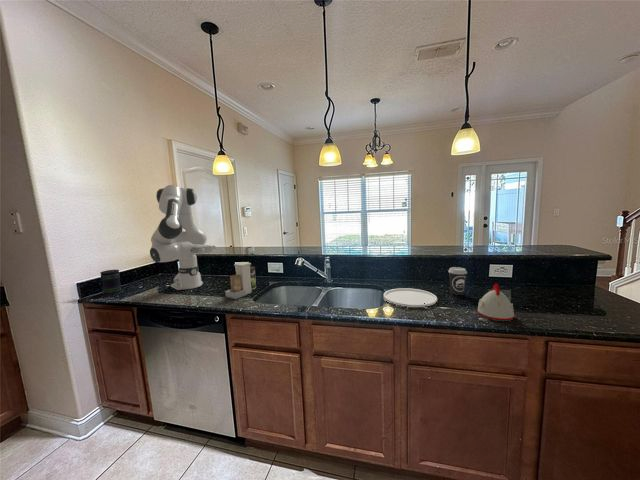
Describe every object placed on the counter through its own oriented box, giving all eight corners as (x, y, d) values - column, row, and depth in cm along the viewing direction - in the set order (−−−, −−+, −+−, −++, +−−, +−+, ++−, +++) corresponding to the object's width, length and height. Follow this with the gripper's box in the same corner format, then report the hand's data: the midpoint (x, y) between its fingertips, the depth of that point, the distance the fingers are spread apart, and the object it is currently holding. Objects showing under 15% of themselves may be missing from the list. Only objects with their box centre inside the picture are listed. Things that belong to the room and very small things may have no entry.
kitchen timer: (480, 319, 117) (482, 287, 115) (474, 308, 130) (476, 279, 128) (518, 323, 112) (520, 289, 110) (508, 311, 125) (510, 281, 123)
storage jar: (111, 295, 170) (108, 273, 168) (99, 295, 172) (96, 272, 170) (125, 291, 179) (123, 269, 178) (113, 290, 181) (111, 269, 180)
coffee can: (258, 286, 180) (257, 266, 179) (252, 290, 170) (250, 269, 169) (244, 285, 183) (243, 265, 181) (237, 290, 173) (235, 269, 171)
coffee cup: (468, 293, 152) (469, 268, 150) (463, 298, 145) (464, 271, 143) (450, 290, 158) (451, 266, 157) (445, 294, 151) (445, 269, 150)
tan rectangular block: (231, 295, 160) (229, 276, 159) (236, 293, 164) (235, 274, 163) (235, 296, 158) (234, 277, 156) (241, 294, 162) (240, 275, 160)
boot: (225, 297, 160) (223, 266, 157) (244, 290, 172) (242, 261, 169) (235, 299, 155) (233, 267, 153) (253, 292, 167) (252, 263, 165)
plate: (398, 312, 129) (398, 307, 129) (375, 294, 157) (375, 290, 156) (449, 306, 135) (449, 301, 135) (418, 290, 162) (418, 286, 162)
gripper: (197, 245, 132) (220, 241, 144) (174, 243, 143) (198, 240, 155) (198, 257, 133) (221, 253, 144) (176, 254, 144) (199, 251, 155)
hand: (209, 246), depth 150 cm, fingers open, 8 cm apart
